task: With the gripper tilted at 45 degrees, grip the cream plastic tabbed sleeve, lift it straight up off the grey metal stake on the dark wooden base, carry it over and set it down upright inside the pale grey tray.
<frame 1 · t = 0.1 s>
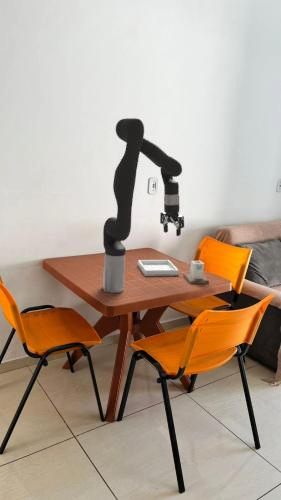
hand: (172, 234, 193), 22 cm above the table, tool pointing down, fingers open, 8 cm apart
tray: (157, 270, 206), on the table
sleeve: (196, 277, 194), point 1 cm above the table, touching stake base
stake base: (195, 280, 195), on the table
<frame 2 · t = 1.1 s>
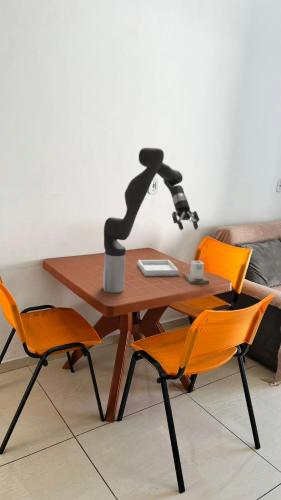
hand: (189, 229, 199), 24 cm above the table, tool tilted 45°, fingers open, 8 cm apart
nothing on the table moved.
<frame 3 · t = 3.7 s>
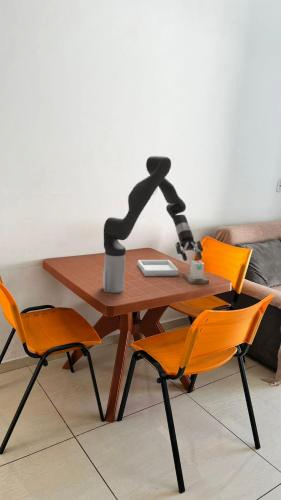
hand: (193, 259, 196), 9 cm above the table, tool tilted 45°, fingers open, 8 cm apart
nothing on the table moved.
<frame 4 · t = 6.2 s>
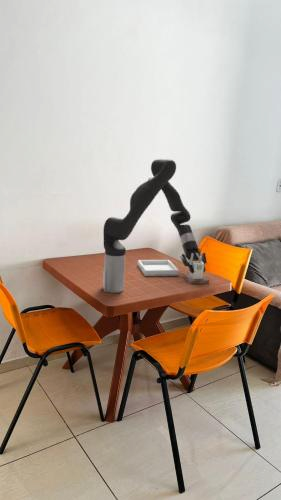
hand: (198, 272, 192), 5 cm above the table, tool tilted 45°, fingers closed on sleeve, 5 cm apart
sleeve: (196, 277, 194), point 2 cm above the table, touching gripper, stake base
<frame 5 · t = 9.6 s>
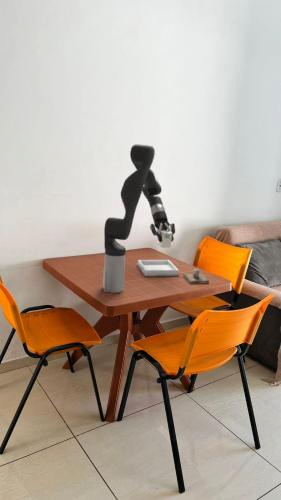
hand: (166, 241, 198), 17 cm above the table, tool tilted 45°, fingers closed on sleeve, 5 cm apart
sleeve: (164, 246, 201), point 14 cm above the table, touching gripper
when the fingers open (6 cm above the table, at t = 13.1 s): sleeve drops 2 cm, resting on tray.
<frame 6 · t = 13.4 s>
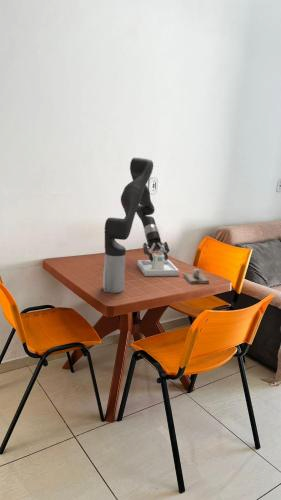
hand: (159, 260, 203), 6 cm above the table, tool tilted 45°, fingers open, 8 cm apart
sleeve: (157, 268, 206), point 1 cm above the table, touching tray
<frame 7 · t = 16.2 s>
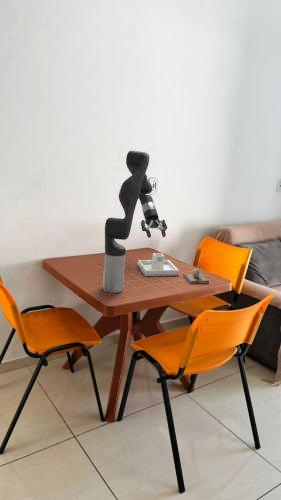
hand: (157, 236, 205), 18 cm above the table, tool tilted 45°, fingers open, 8 cm apart
nothing on the table moved.
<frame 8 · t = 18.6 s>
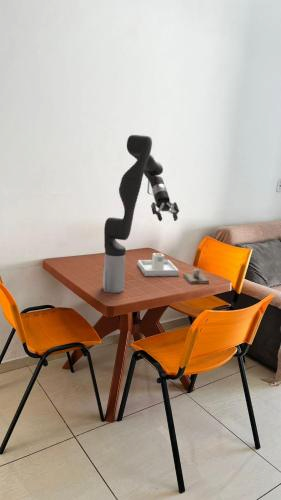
hand: (168, 220, 194), 29 cm above the table, tool tilted 45°, fingers open, 8 cm apart
nothing on the table moved.
at the end: sleeve inside the target area on the tray (0.1 cm from its centre), point 0.8 cm above the tray's base; sleeve tilted 0°; the gripper is holding nothing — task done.
